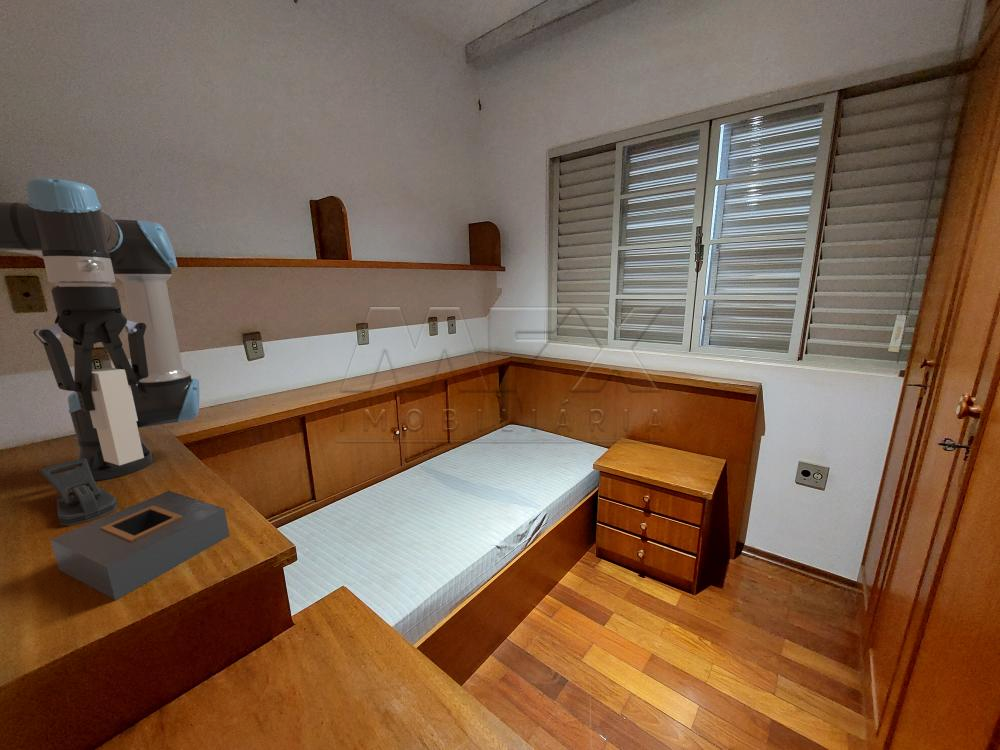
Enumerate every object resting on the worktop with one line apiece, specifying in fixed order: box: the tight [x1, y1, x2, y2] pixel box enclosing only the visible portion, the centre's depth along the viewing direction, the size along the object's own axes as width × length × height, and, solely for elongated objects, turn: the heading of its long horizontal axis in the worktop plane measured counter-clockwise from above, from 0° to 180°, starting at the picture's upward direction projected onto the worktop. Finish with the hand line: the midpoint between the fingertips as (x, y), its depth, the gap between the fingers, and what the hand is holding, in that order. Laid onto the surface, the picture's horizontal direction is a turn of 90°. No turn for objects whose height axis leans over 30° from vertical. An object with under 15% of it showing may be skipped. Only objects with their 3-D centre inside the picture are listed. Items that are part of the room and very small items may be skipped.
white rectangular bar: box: [92, 367, 144, 466], centre depth 69 cm, size 5×4×16 cm
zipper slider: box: [39, 458, 118, 527], centre depth 91 cm, size 9×7×25 cm
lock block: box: [50, 490, 230, 601], centre depth 74 cm, size 18×18×6 cm
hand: (116, 423), depth 69 cm, fingers closed on white rectangular bar, 3 cm apart
